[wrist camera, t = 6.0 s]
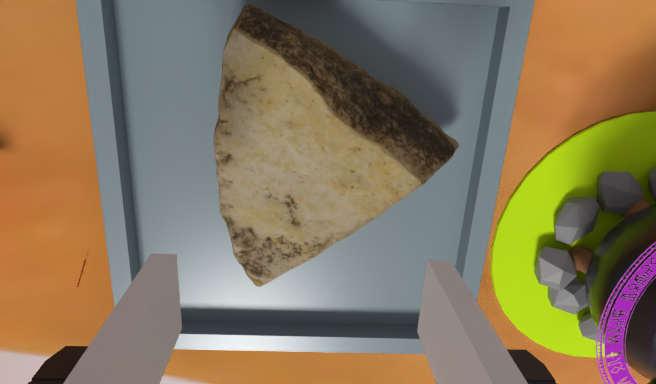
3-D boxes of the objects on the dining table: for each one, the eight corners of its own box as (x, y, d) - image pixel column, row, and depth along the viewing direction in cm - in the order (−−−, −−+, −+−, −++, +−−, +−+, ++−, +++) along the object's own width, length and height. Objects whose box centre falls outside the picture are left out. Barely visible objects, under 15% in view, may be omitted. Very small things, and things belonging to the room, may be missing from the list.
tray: (130, 330, 25) (119, 348, 24) (87, -42, 19) (69, -48, 18) (458, 337, 26) (466, 354, 25) (522, -15, 20) (538, -18, 19)
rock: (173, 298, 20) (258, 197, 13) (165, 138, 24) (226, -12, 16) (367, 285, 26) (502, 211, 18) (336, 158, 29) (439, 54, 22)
